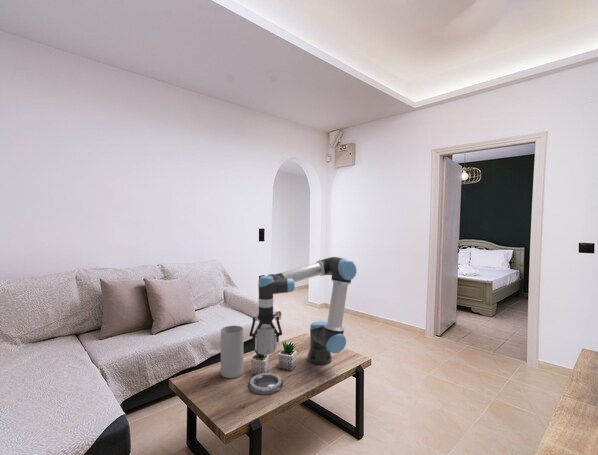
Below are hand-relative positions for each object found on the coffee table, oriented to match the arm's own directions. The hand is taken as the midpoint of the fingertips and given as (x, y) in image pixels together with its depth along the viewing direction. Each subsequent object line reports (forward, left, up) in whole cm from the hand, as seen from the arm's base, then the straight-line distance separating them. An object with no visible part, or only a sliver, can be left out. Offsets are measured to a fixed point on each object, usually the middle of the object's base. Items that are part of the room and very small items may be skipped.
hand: (265, 348), depth 165 cm
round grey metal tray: (0, 0, -19) cm, 19 cm away
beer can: (0, 0, -1) cm, 1 cm away
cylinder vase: (+19, -15, -20) cm, 31 cm away
